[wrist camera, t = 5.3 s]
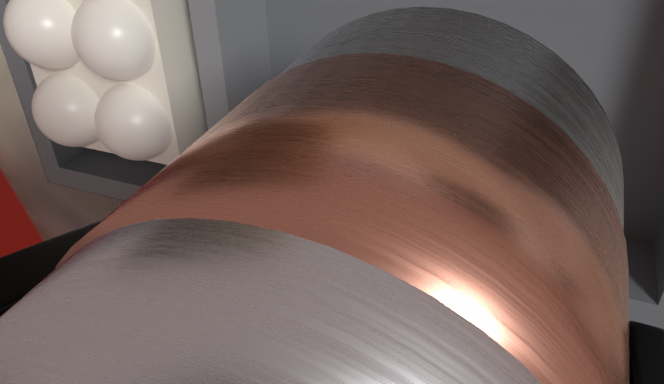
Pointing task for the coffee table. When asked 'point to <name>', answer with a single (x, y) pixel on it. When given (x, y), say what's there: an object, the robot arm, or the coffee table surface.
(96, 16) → the egg carton
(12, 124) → the coffee table surface
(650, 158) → the tote
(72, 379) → the steel tin
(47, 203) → the coffee table surface
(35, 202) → the coffee table surface
